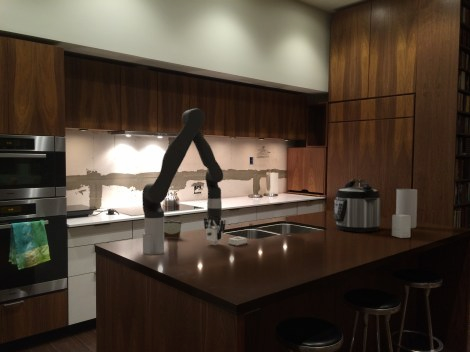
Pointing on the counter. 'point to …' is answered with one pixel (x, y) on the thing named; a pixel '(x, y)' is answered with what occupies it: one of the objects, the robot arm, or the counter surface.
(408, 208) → the cylinder vase
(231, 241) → the socket block
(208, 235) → the plug
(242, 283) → the counter surface
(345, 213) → the pressure cooker
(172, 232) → the food container
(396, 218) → the supplement box
